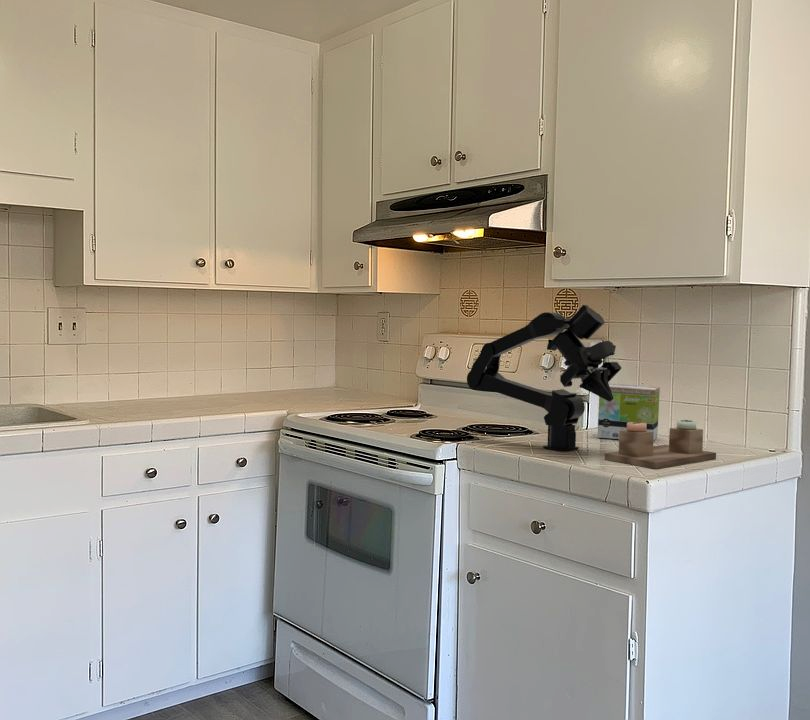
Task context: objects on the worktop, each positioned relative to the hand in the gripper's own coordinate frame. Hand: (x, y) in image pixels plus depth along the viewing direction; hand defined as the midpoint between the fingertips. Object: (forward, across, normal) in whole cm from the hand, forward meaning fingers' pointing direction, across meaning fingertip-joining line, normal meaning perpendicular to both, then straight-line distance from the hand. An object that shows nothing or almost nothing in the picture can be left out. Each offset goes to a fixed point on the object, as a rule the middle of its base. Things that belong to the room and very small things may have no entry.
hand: (611, 400), depth 190 cm
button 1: (+10, 0, 0) cm, 10 cm away
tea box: (0, +30, +19) cm, 36 cm away
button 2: (+13, +14, -4) cm, 19 cm away
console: (+16, +7, +3) cm, 18 cm away
